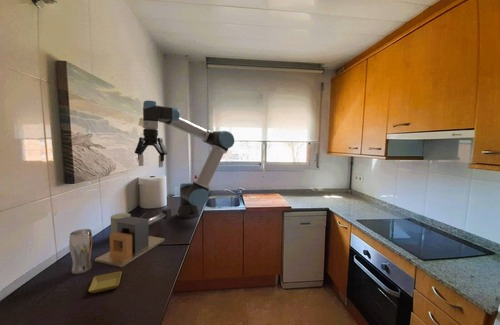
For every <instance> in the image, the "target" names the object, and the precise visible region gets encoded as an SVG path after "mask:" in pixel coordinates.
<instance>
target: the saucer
mask: <svg viewBox="0 0 500 325" xmlns="http://www.w3.org/2000/svg"><path fill="white" fill-rule="evenodd" d="M122 273H123V272H122V271H115V272H110V273H105V274H100V275H95V276H93V278H92V281H91V284H90V286H89V287H88V289H87V291H88V292H89V293H91V294H96V293H100V292H104V291H105V292H106V291H110V290H113V289H116V288H118V286H119V285H120V282H121V277H122Z"/></svg>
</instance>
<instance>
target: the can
mask: <svg viewBox="0 0 500 325" xmlns="http://www.w3.org/2000/svg"><path fill="white" fill-rule="evenodd" d="M129 217H132V216H131V213H128V212H121V213H119V212H118V213H115V214H112V215H111V216H110V217H109V218H110V234H112V233H114V232H117V222H119V221H121V220H124V219H126V218H129Z"/></svg>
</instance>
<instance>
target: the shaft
mask: <svg viewBox="0 0 500 325" xmlns="http://www.w3.org/2000/svg"><path fill="white" fill-rule="evenodd" d="M170 218H172V208H164V209H162V210H161V213H159V214H157V215H155V216H153V217H150V218H147V219H148V226H149V225H152V224H154V223H155V222H156V223H157V222H159V221H160V220H165V221H166V220H169V219H170Z"/></svg>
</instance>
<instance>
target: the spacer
mask: <svg viewBox="0 0 500 325" xmlns="http://www.w3.org/2000/svg"><path fill="white" fill-rule="evenodd" d="M119 241H123V248H119ZM109 251H110V255H115V256H120V257H124V258H127V257H129V256H131V255H132V235H131V234H125V233H119V232H114V233H112V234H111V233H110V234H109Z"/></svg>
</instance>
